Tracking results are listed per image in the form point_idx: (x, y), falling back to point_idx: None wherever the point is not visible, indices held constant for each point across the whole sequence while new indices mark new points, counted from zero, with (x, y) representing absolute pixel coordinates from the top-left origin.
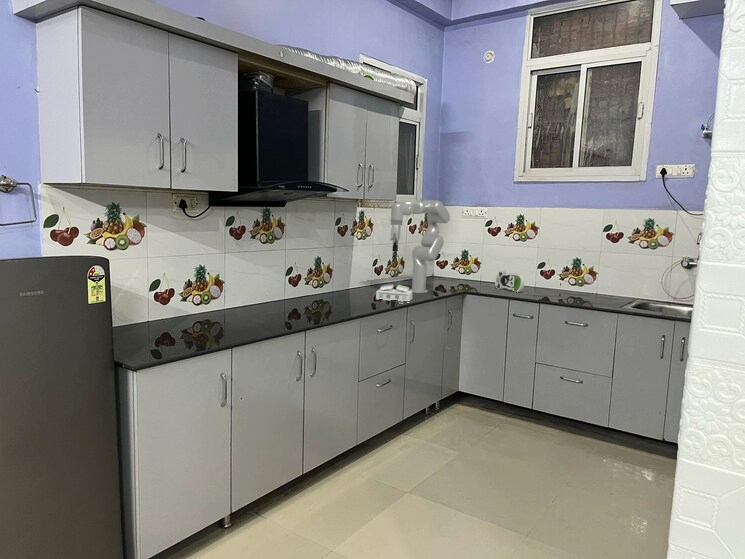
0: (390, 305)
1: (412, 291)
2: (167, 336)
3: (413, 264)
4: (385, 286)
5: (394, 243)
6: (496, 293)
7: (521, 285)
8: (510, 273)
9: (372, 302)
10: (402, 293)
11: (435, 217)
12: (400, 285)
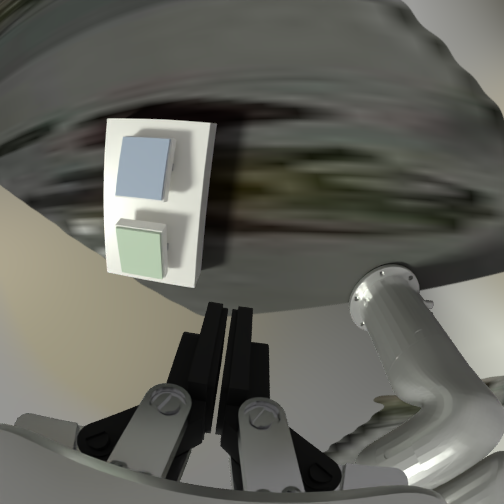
0: (40, 193)
1: (191, 286)
2: None
3: (436, 355)
4: (119, 162)
5: (119, 428)
6: None
7: None
8: None
9: (61, 121)
10: (105, 242)
11: None
12: (153, 242)
